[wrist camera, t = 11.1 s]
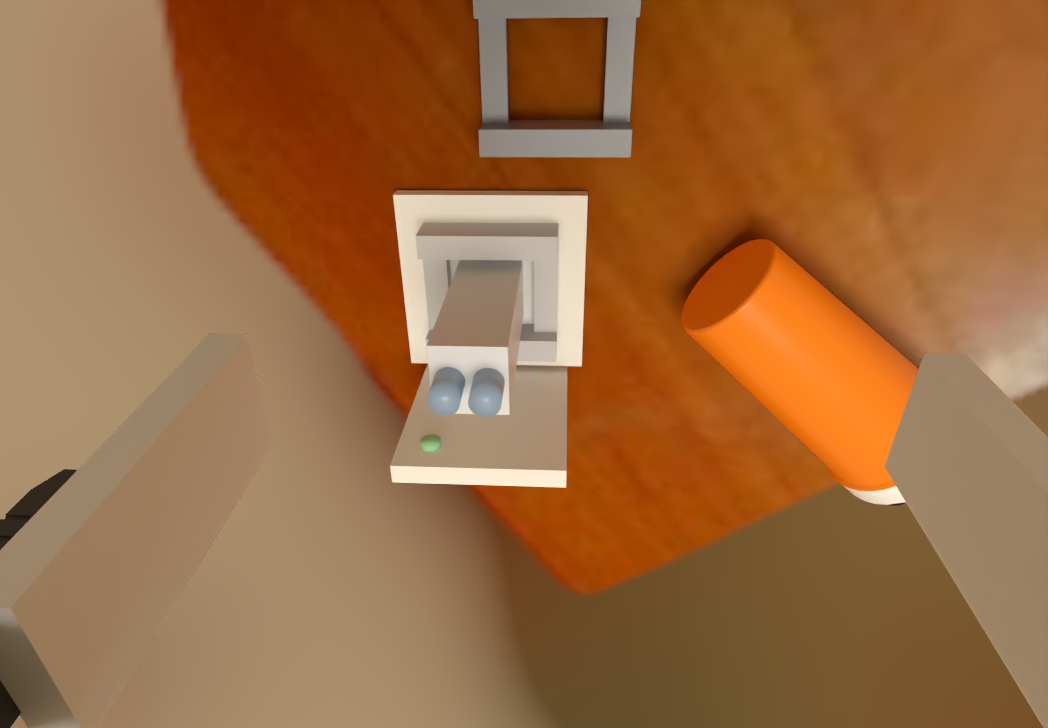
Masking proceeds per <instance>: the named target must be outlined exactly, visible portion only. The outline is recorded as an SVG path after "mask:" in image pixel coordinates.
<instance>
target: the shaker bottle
mask: <svg viewBox="0 0 1048 728" xmlns="http://www.w3.org/2000/svg"><path fill="white" fill-rule="evenodd" d="M681 324H682V326H683V329H684V330H685V331H686V332H687V333H688V334H689V335H690V336H691V337H692V338H693V339H694V340H695V341H696V342H698V343H699V344H700V345H701V346H702V347H703V348H704V349H705V350H706V351H707V352H708V353H709V354H710V355H711V356H712V357H713V358H714V359H715V360H716V361H717V362H718V363H719V364H721V365H722V366H723V367H724V368H725V369H726V370H727V371H728V372H729V373H730V374H731V375H732V376H733V377H734V378H735V379H736V380H737V381H738V382H739V383H740V384H741V385H742V386H744V387H745V388H746V389H747V390H748V391H749V392H750V393H751V394H752V395H753V396H754V397H755V398H756V399H757V400H758V401H759V402H760V403H761V404H762V405H763V406H764V407H765V408H766V409H768V410H769V411H770V412H771V413H772V414H773V415H774V416H775V417H776V418H777V419H778V420H779V421H780V422H781V423H782V424H783V425H784V426H785V427H786V428H787V429H788V430H789V431H791V432H792V433H793V434H794V435H795V436H796V437H797V438H798V439H799V440H800V441H801V442H802V443H803V444H804V445H805V446H806V447H807V448H808V449H809V450H810V451H811V452H812V453H813V454H815V455H816V456H817V457H818V458H819V459H820V460H821V461H822V462H823V463H824V464H825V465H826V466H827V468H828V470H829V472H830V473H831V475H832V477H833V478H834V479H835V480H836V481H838V482H839V483H840V484H842V485H843V486H844V487H845V488H847V489H848V490H849V491H850V492H851V493H852V494H854V495H855V496H856V497H858V498H860V499H862V500H864V501H867V502H871V503H874V504H887V505H891V506H893V505H901V504H905V503H906V501H905V500H904V498H903V497H902V495H901V493H900V492H899V490H898V488H897V487H896V485H895V483H894V482H893V480H892V479H891V477H890V475H889V474H888V472H887V470H886V469H885V467H884V466H885V463H886V461H887V458H888V455H889V452H890V449H891V446H892V443H893V441H894V438H895V435H896V432H897V429H898V426H899V423H900V421H901V418H902V415H903V412H904V409H905V406H906V404H907V401H908V398H909V395H910V392H911V389H912V386H913V384H914V381H915V378H916V375H917V372H918V368H917V367H915V366H914V365H913V364H912V363H911V362H910V361H909V360H907V359H906V358H905V357H904V356H903V355H902V354H901V353H899V352H898V351H897V350H896V349H895V348H894V347H893V346H891V345H890V344H889V343H888V342H887V341H886V340H884V339H883V338H882V337H881V336H880V335H879V334H878V333H876V332H875V331H874V330H873V329H872V328H871V327H870V326H868V325H867V324H866V323H865V322H864V321H863V320H862V319H860V318H859V317H858V316H857V315H856V314H855V313H854V312H852V311H851V310H850V309H849V308H848V307H847V306H845V305H844V304H843V303H842V302H841V301H840V300H839V299H837V298H836V297H835V296H834V295H833V294H832V293H831V292H829V291H828V290H827V289H826V288H825V287H824V286H823V285H821V284H820V283H819V282H818V281H817V280H816V279H814V278H813V277H812V276H811V275H810V274H809V273H808V272H806V271H805V270H804V269H803V268H802V267H801V266H800V265H798V264H797V263H796V262H795V261H794V260H793V259H792V258H790V257H789V256H788V255H787V254H786V253H785V252H783V251H782V250H781V249H780V248H779V247H778V246H777V245H775V244H774V243H773V242H772V241H769V240H767V239H756V240H752V241H749V242H746V243H744V244H742V245H740V246H738V247H736V248H734V249H733V250H731V251H730V252H728V253H727V254H725V255H724V256H723V257H722V258H720V259H719V260H718V261H717V262H716V263H715V264H714V265H713V266H712V267H710V268H709V269H708V271H707V272H706V273H705V274H704V275H703V276H702V277H701V278H700V280H699V281H698V282H697V284H696V285H695V286H694V288H693V289H692V291H691V292H690V294H689V296H688V298H687V300H686V302H685V304H684V307H683V310H682V315H681Z"/></svg>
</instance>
